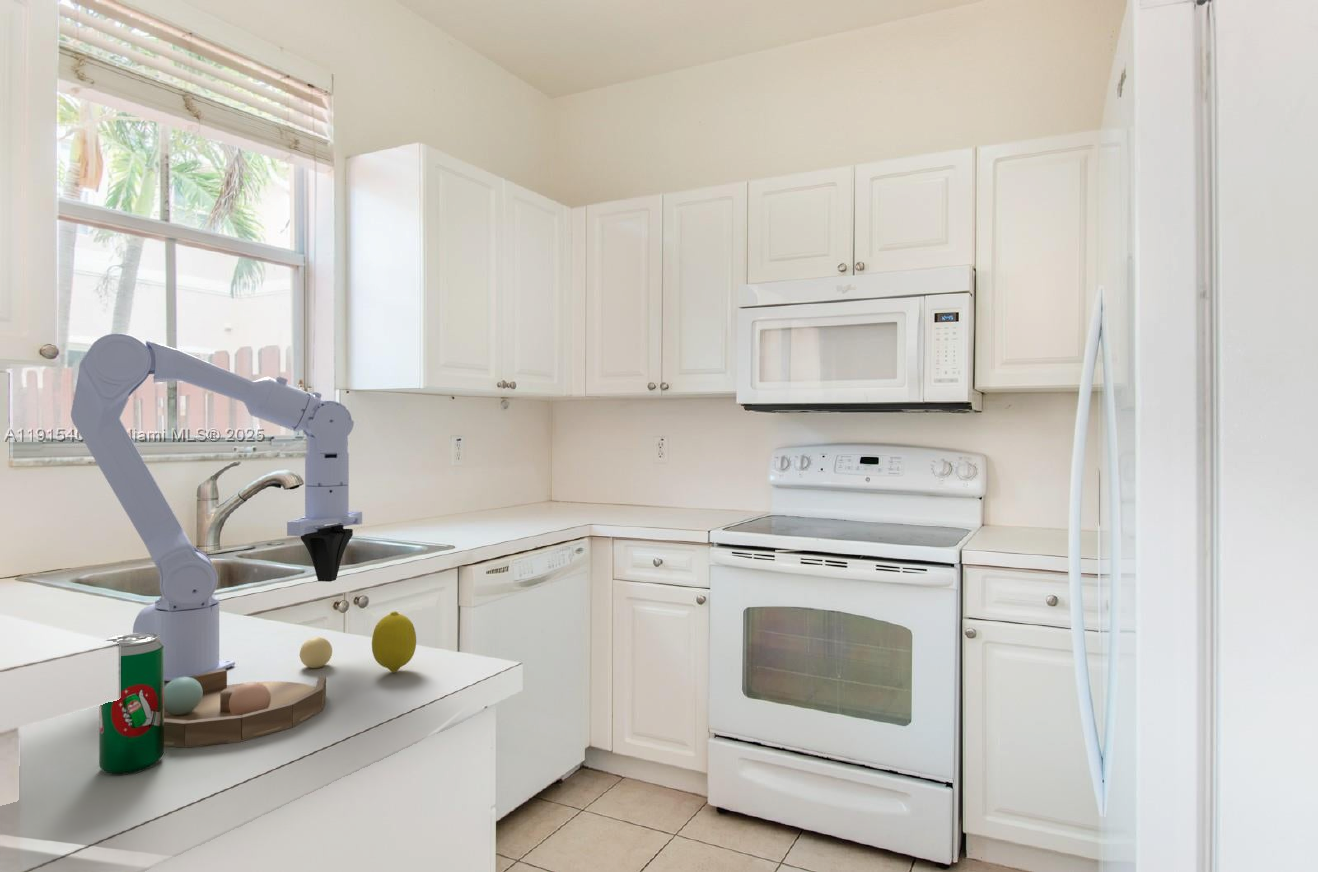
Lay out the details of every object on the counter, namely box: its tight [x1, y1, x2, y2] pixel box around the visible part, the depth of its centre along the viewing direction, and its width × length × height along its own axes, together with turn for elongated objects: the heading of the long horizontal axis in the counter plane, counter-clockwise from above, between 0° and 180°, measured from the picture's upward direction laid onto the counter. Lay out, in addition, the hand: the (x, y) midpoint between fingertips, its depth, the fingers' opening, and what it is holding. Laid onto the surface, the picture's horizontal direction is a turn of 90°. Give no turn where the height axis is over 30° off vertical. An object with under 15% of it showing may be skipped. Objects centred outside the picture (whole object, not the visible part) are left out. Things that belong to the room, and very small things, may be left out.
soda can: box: [98, 633, 165, 776], centre depth 73 cm, size 5×5×12 cm
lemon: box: [371, 611, 417, 673], centre depth 102 cm, size 6×6×8 cm
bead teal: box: [164, 677, 203, 715], centre depth 85 cm, size 4×4×4 cm
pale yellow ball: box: [299, 636, 333, 669], centre depth 104 cm, size 4×4×4 cm
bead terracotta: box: [229, 681, 271, 716], centre depth 84 cm, size 4×4×4 cm
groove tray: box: [164, 668, 327, 749], centre depth 87 cm, size 19×19×2 cm
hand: (326, 580), depth 110 cm, fingers closed
